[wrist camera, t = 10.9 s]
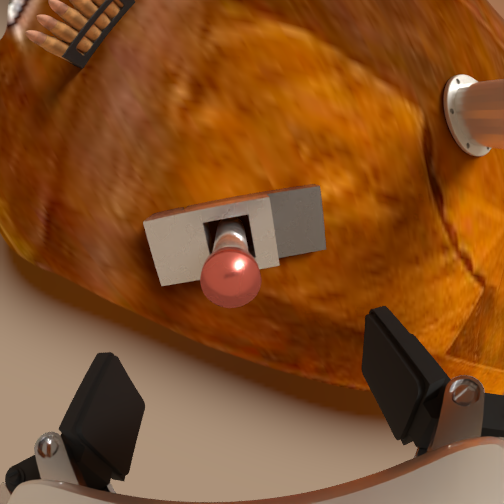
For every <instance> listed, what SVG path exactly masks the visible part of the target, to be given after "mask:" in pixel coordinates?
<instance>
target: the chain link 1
mask: <svg viewBox="0 0 504 504" xmlns="http://www.w3.org/2000/svg"><path fill="white" fill-rule="evenodd" d="M247 214H248V217H249V223H250V229H251V234H252V240H253V246H254V251H251V252H249V253H250V254H251V255H252V256H253V257H254V258H255V260H256V262H257V264H258V267H259V269H263V268H269V267H274V266H279V258H278V251H277V244H276V237H275V230H274V224H273V217H272V210H271V204H270V197H269V196H268V195H267V194H264V195H258V196H253V197H247V198H241V199H236V200H230V201H225V202H220V203H214V204H209V205H204V206H199V207H194V208H190V209H185V210H184V207H181V208H176V209H172V210H167V211H163V212H159V213H154V214H153V215H151V216H150V217H149V218H147V219H146V220H145V221H144V222H143V224H144V228H145V231H146V235H147V239H148V242H149V246H150V250H151V253H152V257H153V260H154V263H155V267H156V270H157V273H158V277H159V280H160V283H161V286H166V285H172V284H178V283H184V282H190V281H196V280H200V277H201V272H202V268H203V264H204V262H205V260H206V259H207V257H208V256H209V255H210V254H211V253H212V250H211V245H210V241H209V236H208V232H207V227H206V223H205V222H210V221H215V220H220V219H225V218H231V217H236V216H242V215H247Z"/></svg>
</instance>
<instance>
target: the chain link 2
mask: <svg viewBox="0 0 504 504" xmlns="http://www.w3.org/2000/svg"><path fill="white" fill-rule="evenodd" d="M264 194H267V195H268V196H269V197H270V204H271V210H272V217H273V224H274V230H275V237H276V244H277V251H278V258H282V257H287V256H293V255H298V254H303V253H309V252H314V251H319V250H325V249H326V242H325V230H324V219H323V209H322V200H321V191H320V186H318V185H316V184H311V185H304V186H297V187H291V188H284V189H278V190H272V191H265V192H259V193H254V194H248V195H242V196H237V197H231V198H226V199H221V200H215V201H210V202H205V203H200V204H195V205H191V206H187V208H186V209H190V208H194V207H199V206H204V205H209V204H214V203H220V202H225V201H230V200H236V199H241V198H247V197H253V196H258V195H264ZM248 219H249V217H248ZM205 223H206V227H207V232H208V236H209V241H210V245H211V250H212V253H213V243H212V239H211V234H210V229H209V225H208V222H205ZM249 225H250V223H249ZM250 231H251V229H250ZM251 237H252V234H251ZM252 242H253V240H252ZM248 251H249V252H251V251H254V246H253V245H250V246H248Z"/></svg>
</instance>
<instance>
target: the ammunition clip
mask: <svg viewBox="0 0 504 504" xmlns="http://www.w3.org/2000/svg"><path fill="white" fill-rule="evenodd" d="M69 1H70V2H71V3H72V4H73V6H74V7H75V8H76V9H77V10H78V11H79V12H81V13H82V14H81V13H79V12H78V11H77V10H75V9H73V8H71V7H69V6H67V5H66V4H64V3H63V2H61V1H58V0H49V5H50V7H51V8H52V9H53V10H54V11H55V12H56V13H57V14H58V15H59V16H60V17H62V19H63V20H64V21H65V22H66V23H68V24H69V25H71V26H72V27H70V26H69V25H67V24H66V23H64V22H60V21H58V20H56V19H54V18H52V17H50V16H47V15H37V19H38V21H39V23H40V24H41V25H43V26H44V27H45V28H47V29H48V30H49V31H51V32H52V33H53V34H54V35H55V36H56V37H58V38H60V39H62V41H61V40H60V39H58V38H56V37H53V36H49V35H47V34H44V33H42V32H39V31H32V30H30V31H26V35H27V37H28V38H29V39H30V40H31V41H33V42H34V43H36V44H38V45H39V46H41V47H43V48H44V49H45V50H46V51H48V52H50V53H52V54H55V55H57V56H59V57H61V58H63V59H65V60H66V61H68V62H70V63H71V64H73V65H75V66H77V67H79V68H81V69H82V68H84V66H85V65H86V63H87V62H88V60H89V59H90V57H91V56H92V54H93V53H94V52H95V50H96V49H97V47H98V46H99V45H100V43H101V42H102V41H103V39H104V38H105V37H106V36H107V34H108V33H109V32H110V31H111V29H112V28H113V27H114V26H115V24H116V23H117V22H118V21H119V20H120V19H121V17H122V16H123V15H124V14H125V13H126V12H127V11H128V9H129V8H130V7H131V6H132V5H133V4H134V3H135V1H134V0H92V1H93V2H92V1H91V0H69ZM97 6H98V7H99V8H98V7H97ZM103 12H104V13H105V14H104V13H103ZM87 18H88V19H89V20H88V19H87ZM95 25H96V26H95ZM77 30H78V31H79V32H78V31H77ZM85 36H86V37H85ZM69 44H70V45H69ZM76 48H77V49H78V50H77V49H76Z"/></svg>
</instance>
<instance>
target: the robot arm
mask: <svg viewBox="0 0 504 504" xmlns="http://www.w3.org/2000/svg"><path fill="white" fill-rule="evenodd" d="M443 100H444V112H445V116H446V121H447V124H448V127H449V129H450V132H451V134H452V136H453V138H454V139H455V141H456V143H457V144H458V145H459V146H460V148H461V149H462V150H463V151H465V152H466V153H468V154H470V155H472V156H484V155H486V154H487V153H488V152H489V151H490V150H491V148H500V149H504V79H499V80H491V81H483V82H477V81H476V80H475V79H473V78H472V77H470V76H468V75H463V74H461V75H456V76H453V77H452V78H450V79H449V81H448V82H447V84H446V87H445V90H444V97H443ZM362 373H363V375H364V377H365V379H366V381H367V383H368V385H369V387H370V389H371V391H372V393H373V395H374V397H375V398H376V401H377V403H378V404H379V406H380V408H381V410H382V412H383V414H384V416H385V418H386V420H387V422H388V424H389V426H390V428H391V430H392V432H393V435H394V437H395V438H396V439H397V440H400V439H401V441H402V443H403V445H406V444H408V443H410V442H412V441H413V442H414V443H415V445H416V447H417V450H416V453H415V456H414V458H413V459H411V460H408V461H406V462H404V463H401V464H399V465H396V466H394V467H391V468H389V469H386V470H383V471H381V472H378V473H375V474H372V475H369V476H366V477H363V478H360V479H357V480H354V481H350V482H347V483H343V484H340V485H336V486H332V487H328V488H325V489H320V490H316V491H311V492H307V493H301V494H296V495H290V496H284V497H277V498H270V499H262V500H252V501H238V502H209V503H208V502H179V501H165V500H155V499H147V498H139V497H132V496H127V495H121V494H116V492H115V491H114V489H113V487H112V485H111V484H110V479H111V478H112V479H114V480H120V481H124V479H125V475H127V474H128V473H129V470H130V465H131V461H132V457H133V452H134V449H135V444H136V440H137V436H138V432H139V429H140V425H141V421H142V417H143V414H144V410H145V403H144V401H143V399H142V397H141V396H140V394H139V393H138V391H137V390H136V388H135V386H134V385H133V383H132V381H131V380H130V378H129V376H128V375H127V373H126V371H125V369H124V367H123V366H122V364H121V362H120V360H119V358H118V357H117V356H114V354H113V353H110V352H109V353H98V354H97V355H96V357H95V359H94V361H93V362H92V364H91V366H90V368H89V370H88V371H87V373H86V375H85V377H84V379H83V381H82V383H81V384H80V386H79V388H78V390H77V392H76V394H75V396H74V398H73V400H72V402H71V404H70V406H69V408H68V410H67V412H66V414H65V416H64V418H63V421H62V423H61V425H60V427H59V430H60V431H61V432H62V434H61V436H60V435H59V434H58V433H55V432H48V433H45V434H43V435H42V436H41V437H40V438H39V439H38V440H37V442H36V443H35V447H34V451H35V455H34V456H32V457H30V458H28V459H26V460H24V461H22V462H20V463H18V464H16V465H14V466H12V467H11V468H10V469H9V470H8V471H7V474H6V478H5V482H6V484H5V483H4V482H3V483H2V484H1V485H0V504H504V395H496V394H490V393H484V388H483V386H482V384H481V382H480V381H479V380H478V379H476V378H474V377H472V376H467V375H461V376H457V377H455V378H453V379H452V380H451V379H450V378H449V377H448V376H447V374H446V373H445V372H444V371H443V369H442V368H441V367H440V366H439V364H438V363H437V362H436V361H435V360H434V358H433V357H432V356H431V355H430V353H429V352H428V351H427V350H426V349H425V347H424V346H423V345H422V344H421V343H420V342H419V340H418V339H417V338H416V337H415V336H414V335H413V334H410V333H409V332H408V331H407V329H406V328H405V327H404V326H403V325H402V324H401V323H400V321H399V320H398V319H397V318H396V317H395V316H394V315H393V313H392V312H391V311H390V310H389V309H388V308H387V307H386V306H382V307H378V308H375V309H371V310H370V312H369V314H368V315H366V317H365V333H364V347H363V359H362Z"/></svg>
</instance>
